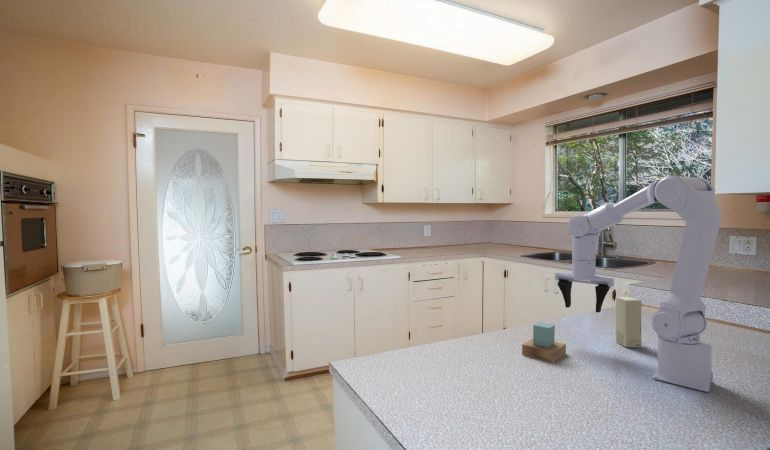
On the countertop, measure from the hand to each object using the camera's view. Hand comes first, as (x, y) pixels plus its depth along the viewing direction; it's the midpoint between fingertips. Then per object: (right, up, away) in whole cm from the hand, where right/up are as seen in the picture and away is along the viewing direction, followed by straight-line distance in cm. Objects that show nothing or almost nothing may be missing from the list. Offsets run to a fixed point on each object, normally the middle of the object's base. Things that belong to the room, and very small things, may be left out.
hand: (582, 309), depth 106 cm
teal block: (-13, -8, -6) cm, 17 cm away
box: (+13, -10, +1) cm, 16 cm away
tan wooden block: (-13, -11, -6) cm, 18 cm away
